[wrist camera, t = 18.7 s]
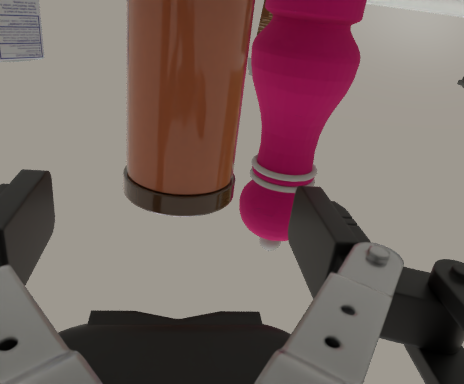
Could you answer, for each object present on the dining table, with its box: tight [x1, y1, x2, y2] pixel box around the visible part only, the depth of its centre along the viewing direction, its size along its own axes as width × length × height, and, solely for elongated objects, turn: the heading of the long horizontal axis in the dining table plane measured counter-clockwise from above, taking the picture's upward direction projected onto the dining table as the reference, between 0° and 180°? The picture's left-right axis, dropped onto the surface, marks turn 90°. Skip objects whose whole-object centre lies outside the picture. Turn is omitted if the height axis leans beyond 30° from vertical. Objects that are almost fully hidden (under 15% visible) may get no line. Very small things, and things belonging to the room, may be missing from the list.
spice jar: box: [123, 0, 255, 217], centre depth 18 cm, size 6×6×10 cm
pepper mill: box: [240, 0, 367, 251], centre depth 30 cm, size 7×7×20 cm
